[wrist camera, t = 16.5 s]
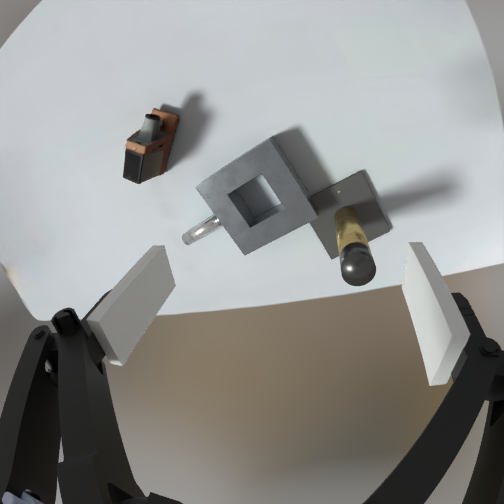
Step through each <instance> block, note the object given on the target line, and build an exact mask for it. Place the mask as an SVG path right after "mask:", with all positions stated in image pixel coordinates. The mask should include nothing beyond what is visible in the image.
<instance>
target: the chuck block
mask: <svg viewBox="0 0 504 504" xmlns="http://www.w3.org/2000/svg"><path fill="white" fill-rule="evenodd" d="M261 173H262V175H263V176H264V178H265V179H266V181H267V182H268V184H269V185H270V187H271V188H272V190H273V191H274V193H275V194H276V196H277V197H278V199H279V200H280V202H281V204H280V205H278V206H276V207H274V208H272V209H271V210H269V211H267V212H265V213H263V214H262V215H260V216H258V217H256V218H254V216H253V215H252V214H251V212H250V211H249V209H248V208H247V206H246V205H245V203H244V202H243V201H242V199H241V198H240V196H239V195H238V193H237V192H236V190H235V189H237V188H238V187H240V186H242V185H243V184H245V183H246V182H248V181H250V180H251V179H253V178H255V177H256V176H258V175H259V174H261ZM195 188H196V189H197V191H198V192H199V193H200V195H201V196H202V197H203V199H204V200H205V202H206V203H207V204H208V206H209V207H210V209H211V210H212V211H213V213H214V215H213V216H211V217H210V218H208V219H206V220H205V221H203V222H202V223H200V224H198V225H197V226H195V227H194V228H192V229H191V230H189V231H188V232H186V233H184V234H183V235H182V240H183V242H184V243H185V244H186V245H191V244H192V243H194V242H195V241H197V240H199V239H200V238H202V237H204V236H205V235H207V234H209V233H210V232H212V231H214V230H215V229H217V228H219V227H220V226H222V225H223V227H224V228H225V229H226V231H227V232H228V233H229V235H230V236H231V238H232V239H233V240H234V242H235V243H236V244H237V246H238V247H239V249H240V250H241V251H242V253H243V254H244V255H247V254H249V253H251V252H253V251H255V250H256V249H258V248H260V247H262V246H264V245H266V244H268V243H270V242H272V241H274V240H276V239H278V238H280V237H282V236H284V235H286V234H287V233H289V232H291V231H293V230H295V229H297V228H299V227H301V226H303V225H305V224H307V223H309V222H311V221H313V220H315V219H317V218H318V209H317V207H316V206H315V204H314V202H313V201H312V199H311V196H310V195H309V193H308V191H307V190H306V188H305V186H304V185H303V183H302V182H301V180H300V178H299V177H298V175H297V174H296V172H295V170H294V169H293V167H292V166H291V164H290V163H289V161H288V159H287V158H286V156H285V155H284V153H283V152H282V150H281V149H280V147H279V146H278V144H277V143H276V141H275V140H274V138H273V137H270V138H268V139H267V140H265V141H264V142H262V143H260V144H259V145H257V146H256V147H254V148H252V149H251V150H249V151H248V152H246V153H245V154H243V155H241V156H240V157H238V158H237V159H235V160H234V161H232V162H231V163H229V164H228V165H226V166H225V167H223V168H222V169H220V170H219V171H217V172H216V173H214V174H213V175H211V176H210V177H209V178H207V179H206V180H204V181H203V182H202V183H200V184H199V185H198V186H197V187H195Z"/></svg>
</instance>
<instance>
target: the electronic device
mask: <svg viewBox="0 0 504 504" xmlns="http://www.w3.org/2000/svg"><path fill="white" fill-rule="evenodd" d="M178 118H179V116H178V115H174V114H171V113H168V112H165V111H161V110H158V109H156V108H154V109H153V110H152V113H151V114H146V116H145V120H144V123H143V126H142V128H141V129H140V130H139V131H137V132H136V133H134V134H133V135H132V136H131V137H129V138H128V139H127V143H126V151H125V163H124V171H123V178H125V179H128V180H130V181H132V182H135V183H137V184H141V183H142V182H144V181H146V180H149V179H151V178H153V177H156V176H159V175H162V174H164V172H165V168H166V164H167V160H168V157H169V154H170V150H171V146H172V142H173V138H174V134H175V132H176V128H177V124H178V122H179V119H178Z"/></svg>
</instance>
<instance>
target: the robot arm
mask: <svg viewBox="0 0 504 504" xmlns="http://www.w3.org/2000/svg"><path fill="white" fill-rule="evenodd" d="M175 286H176V285H175V282H174V278H173V275H172V271H171V268H170V264H169V261H168V257H167V254H166V250H165V246H164V245H161V246H152V247H151V248H150V249H149V250H148V251H147V252H146V253H145V255H144V256H143V257H142V258H141V259H140V260H139V261H138V262H137V263H136V264H135V265H134V266H133V267H132V268H131V269H130V270H129V272H128V273H127V274H126V275H125V276H124V277H123V278H122V279H121V280H120V281H119V283H118V284H117V285H116V286H115V287H114V288H113V289H111V290H110V291H108V292H107V293H105V294H104V295H103V296H102V297H101V299H100V300H99V302H97V303H96V304H95V305H94V307H93V308H92V309H91V310H90V311H89V312H88V313H87V314H86V316H85V317H84V318H83V319H82V320H81V321H80V320H79V318H78V316H77V314H76V312H75V310H74V309H72V308H65V309H62V310H60V311H59V312H57V313H56V314H55V315H54V316H53V318H52V320H51V321H52V323H53V325H54V327H55V329H56V330H57V332H58V333H52V332H51V330H50V328H49V327H48V326H46V325H43V326H39V327H37V328H35V329H34V330H33V331H32V333H31V334H30V336H29V338H28V341H27V343H26V345H25V348H24V350H23V353H22V355H21V358H20V361H19V363H18V366H17V368H16V371H15V374H14V377H13V379H12V382H11V385H10V388H9V391H8V394H7V398H6V401H5V404H4V407H3V411H2V414H1V418H0V504H55V500H56V489H57V476H58V482H59V487H60V493H61V498H62V503H63V504H182V503H181V502H179V501H176V500H173V499H170V498H167V497H164V496H160V495H158V494H155V493H152V492H150V495H149V497H145V495H144V494H143V492H142V490H141V489H140V488H139V486H138V485H137V484H136V482H135V480H134V478H133V474H132V471H131V469H130V465H129V462H128V459H127V456H126V453H125V449H124V446H123V442H122V439H121V435H120V432H119V428H118V424H117V420H116V416H115V412H114V408H113V403H112V398H111V394H110V389H109V384H108V379H107V373H106V368H105V364H104V362H103V360H102V359H103V358H104V356H105V355H106V356H107V358H108V360H109V361H110V363H112V364H116V365H120V366H123V365H124V364H125V362H126V361H127V359H128V357H129V356H130V354H131V353H132V351H133V350H134V348H135V346H136V345H137V343H138V342H139V340H140V339H141V337H142V336H143V334H144V332H145V331H146V329H147V328H148V326H149V325H150V323H151V322H152V320H153V319H154V317H155V316H156V314H157V313H158V311H159V310H160V308H161V307H162V305H163V304H164V302H165V301H166V299H167V298H168V296H169V295H170V293H171V292H172V290H173V289H174V287H175ZM402 290H403V293H404V296H405V299H406V302H407V305H408V308H409V311H410V314H411V318H412V321H413V324H414V327H415V331H416V334H417V338H418V341H419V345H420V348H421V352H422V356H423V360H424V364H425V368H426V372H427V376H428V380H429V385H430V386H432V385H439V384H446V383H447V381H448V379H449V377H450V375H452V378H453V384H452V386H451V388H450V389H449V391H448V393H447V394H446V396H445V398H444V400H443V401H442V403H441V405H440V406H439V408H438V409H437V411H436V413H435V414H434V416H433V418H432V419H431V420H430V422H429V423H428V425H427V426H426V428H425V429H424V431H423V432H422V433H421V435H420V436H419V438H418V439H417V440H416V442H415V443H414V445H413V446H412V447H411V449H410V450H409V451H408V453H407V454H406V455H405V456H404V458H403V459H402V460H401V461H400V463H399V464H398V465H397V466H396V468H395V469H394V470H393V471H392V472H391V474H390V475H389V476H388V477H387V478H386V479H385V480H384V482H383V483H382V484H381V485H380V486H379V487H378V488H377V489H376V490H375V491H374V493H373V494H372V495H371V496H370V497H369V498H368V499H367V500H366V501H365V502H364V503H363V504H424V503H425V502H426V500H427V499H428V498H429V496H430V495H431V493H432V492H433V491H434V489H435V488H436V486H437V485H438V483H439V482H440V480H441V479H442V478H443V476H444V475H445V473H446V472H447V470H448V468H449V467H450V465H451V464H452V462H453V460H454V459H455V457H456V455H457V454H458V452H459V450H460V449H461V447H462V445H463V443H464V441H465V440H466V438H467V436H468V434H469V432H470V430H471V428H472V426H473V424H474V422H475V420H476V418H477V416H478V414H479V412H480V410H481V407H482V405H483V403H484V401H485V400H487V401H489V407H488V413H487V418H486V423H485V428H484V433H483V437H482V442H481V446H480V450H479V454H478V457H477V461H476V464H475V468H474V471H473V474H472V477H471V480H470V483H469V486H468V489H467V492H466V495H465V497H464V500H463V502H462V504H504V351H502V350H501V348H500V346H499V345H498V343H497V342H495V341H494V340H493V339H491V338H487V337H486V336H485V334H484V331H483V329H482V327H481V326H480V323H479V321H478V319H477V317H476V316H475V313H474V311H473V310H472V309H471V306H470V304H469V302H468V300H467V299H466V298H465V297H464V296H463V295H462V294H461V293H450V291H449V289H448V287H447V285H446V283H445V281H444V279H443V278H442V276H441V274H440V272H439V270H438V268H437V267H436V265H435V263H434V261H433V260H432V258H431V256H430V255H429V253H428V251H427V250H426V248H425V246H424V245H423V243H422V242H409V244H408V252H407V259H406V265H405V271H404V277H403V283H402ZM45 364H46V365H47V367H48V368H49V369H48V372H46V370H45ZM61 437H62V447H63V454H64V461H63V462H60V463H58V460H59V449H60V440H61Z"/></svg>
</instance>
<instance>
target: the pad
mask: <svg viewBox="0 0 504 504" xmlns="http://www.w3.org/2000/svg"><path fill="white" fill-rule="evenodd" d="M311 199H312V201H313V202H314V204H315V206H316V207H317V209H318V218H317V219H315V220H313V221H311V222H310V224H311V226H312V227H313V229H314V231H315V232H316V234H317V236H318V237H319V239H320V241H321V242H322V244H323V246H324V248H325V249H326V251H327V253H328V254H329V256H330V258H331V260H332V259H334V258H336V257H338V256H339V250H338V243H337V237H336V230H335V224H334V215H335V213H336V211H337V210H338V209H340V208H342V207H351V208H353V209H354V210H355V211H356V212H357V214H358V216H359V219H360V222H361V225H362V227H363V230H364V233H365V236H366V239H367V242H369V241H371V240H373V239H375V238H377V237H379V236H381V235H383V234H385V233H387V232H389V231H390V230H389V227H388V225H387V223H386V221H385V218H384V216H383V214H382V212H381V210H380V208H379V206H378V204H377V202H376V200H375V197H374V195H373V193H372V191H371V189H370V187H369V186H368V184H367V182H366V180H365V178H364V176H363V174H362V172H361V170H360V171H358V172H357V173H355V174H353V175H351V176H349V177H347V178H345V179H343V180H341V181H339V182H338V183H336V184H334V185H332V186H330V187H328V188H326V189H324V190H323V191H321V192H319V193H317V194H315V195H313V196H311Z"/></svg>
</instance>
